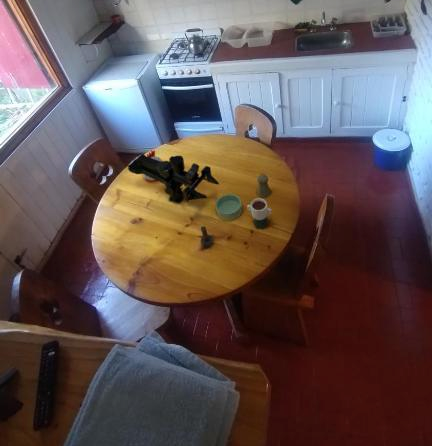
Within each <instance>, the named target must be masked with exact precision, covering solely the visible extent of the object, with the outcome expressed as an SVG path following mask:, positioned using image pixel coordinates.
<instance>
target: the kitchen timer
mask: <svg viewBox="0 0 432 446" xmlns="http://www.w3.org/2000/svg"><path fill="white" fill-rule="evenodd" d="M146 156H147V157H150V158H152V159H155V160H158V161H161V162H162V161H163V159H161V158H160V157H159V156H156V150H150V152H148V153H146ZM142 176H143V179H144V181H146V182H148V183H157V182H159V181H157V180H155V179H153V178H151V177H149V176H146V175H144V174H142Z"/></svg>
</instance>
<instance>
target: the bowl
mask: <svg viewBox="0 0 432 446" xmlns="http://www.w3.org/2000/svg"><path fill="white" fill-rule="evenodd" d="M214 206H215V210H216V214H217V216H218V217H219V218H220V219H222V220H223V221H233V220H236V219H238V218H239V217H240V216H241V215H242V213H243V203H242V200H241V198H240V196H238V195H236V194H234V193H233V194H232V193H227V194H224V195H221V196H219V198H217V200H215V205H214Z"/></svg>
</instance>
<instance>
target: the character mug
mask: <svg viewBox="0 0 432 446" xmlns="http://www.w3.org/2000/svg"><path fill="white" fill-rule="evenodd" d="M246 207H247V211H249V212H251V216H252V218H253V225H254V226H255V227H256V228H257V229H261V230H262V229H264V228H266V227H268V224H269V220H268V215H270V216H271V215H272V214H273V211H272V209H271V208H269V207H268V203H267V201H266V199H264V198H262V197H260V198H259V197H258V198H254V199H253V200H252V201H251V202H250V204H247V206H246Z"/></svg>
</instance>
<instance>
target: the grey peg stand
mask: <svg viewBox="0 0 432 446" xmlns="http://www.w3.org/2000/svg"><path fill="white" fill-rule="evenodd" d="M200 232H201V234H202V236H201V237H200V243H201V245H202V247H204V248H210V247H211V246H213V244H214V240H213V237H212V235H210V234H208V230H207V227H206V226H205V225H204V226H201V227H200Z"/></svg>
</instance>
